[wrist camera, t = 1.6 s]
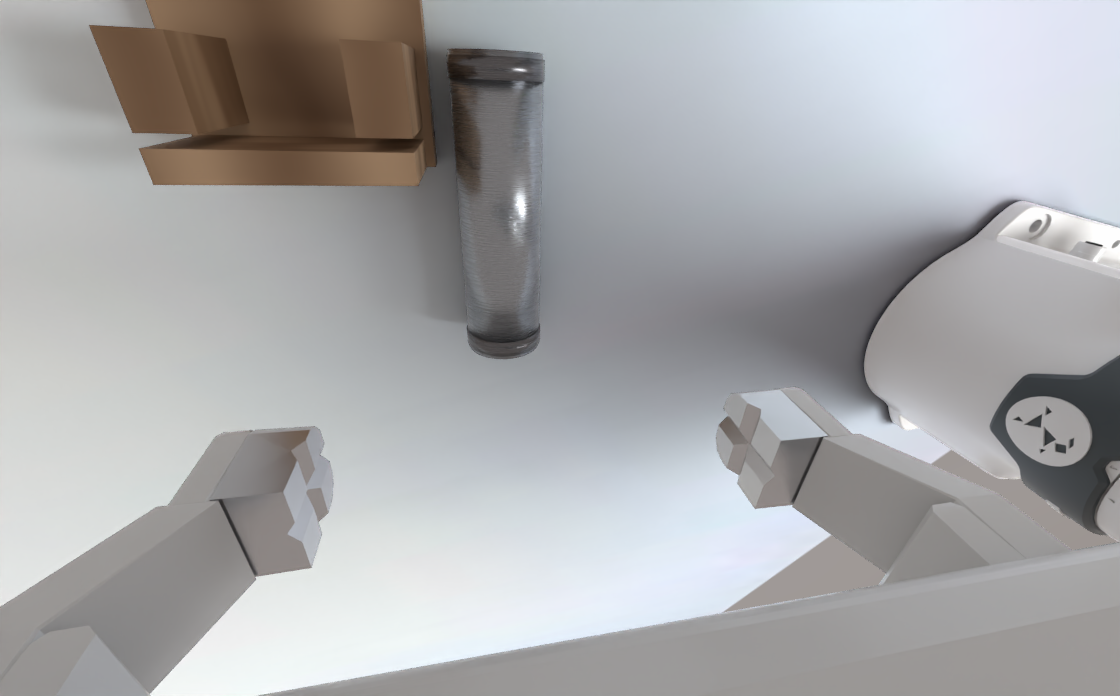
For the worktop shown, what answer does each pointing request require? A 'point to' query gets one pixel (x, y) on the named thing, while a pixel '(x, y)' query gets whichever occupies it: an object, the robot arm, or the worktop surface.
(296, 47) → the cradle
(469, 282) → the cylinder
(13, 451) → the worktop surface
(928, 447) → the worktop surface
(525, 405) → the worktop surface
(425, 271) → the worktop surface
